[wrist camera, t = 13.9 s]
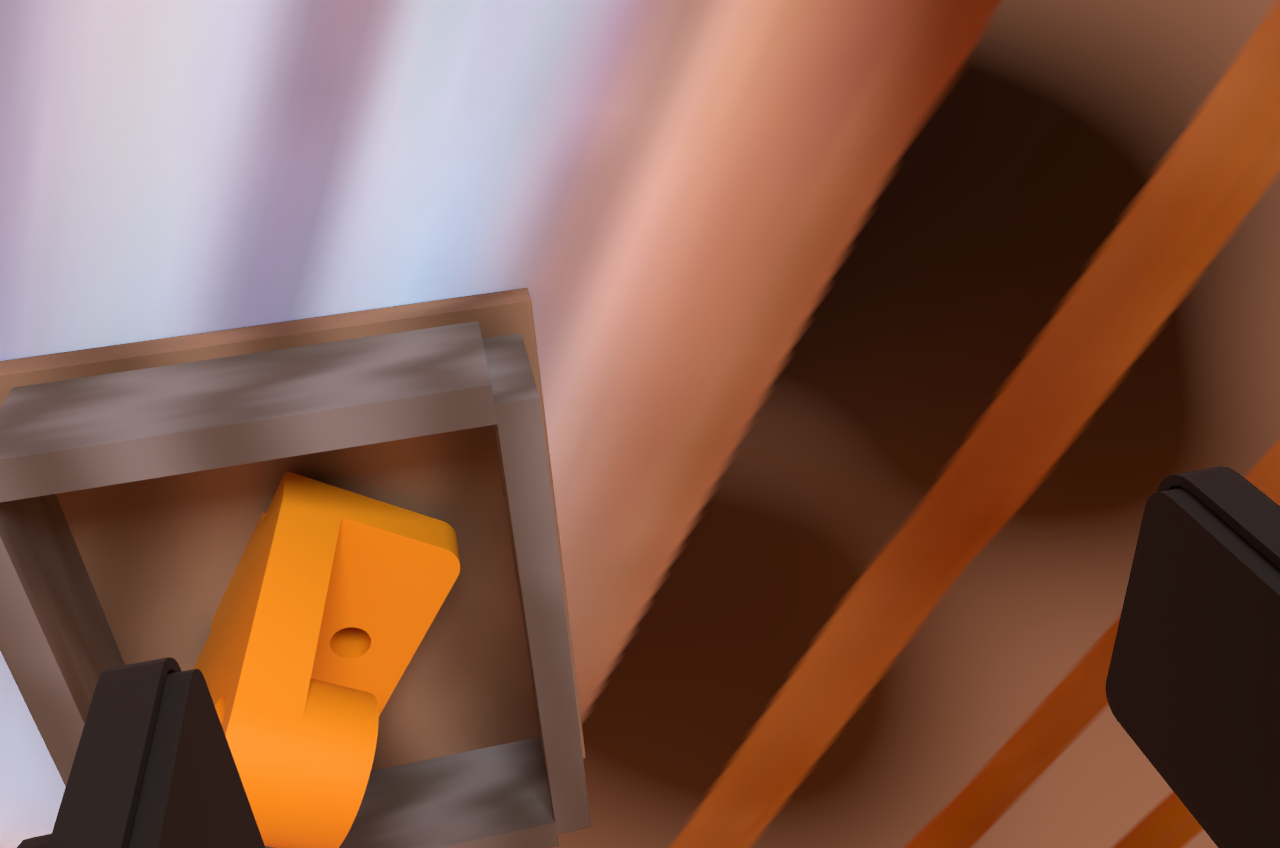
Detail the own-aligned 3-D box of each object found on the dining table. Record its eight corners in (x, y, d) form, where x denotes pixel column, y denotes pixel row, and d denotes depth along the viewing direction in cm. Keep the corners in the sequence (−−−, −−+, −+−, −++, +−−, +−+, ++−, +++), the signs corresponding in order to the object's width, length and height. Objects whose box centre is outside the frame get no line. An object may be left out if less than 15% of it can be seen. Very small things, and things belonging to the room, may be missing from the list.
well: (527, 288, 41) (550, 362, 36) (581, 739, 54) (604, 843, 48) (-45, 367, 38) (-110, 461, 33) (153, 826, 50) (129, 947, 45)
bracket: (359, 706, 48) (357, 954, 38) (190, 666, 45) (139, 924, 35) (463, 516, 44) (493, 735, 34) (287, 459, 41) (261, 680, 31)
